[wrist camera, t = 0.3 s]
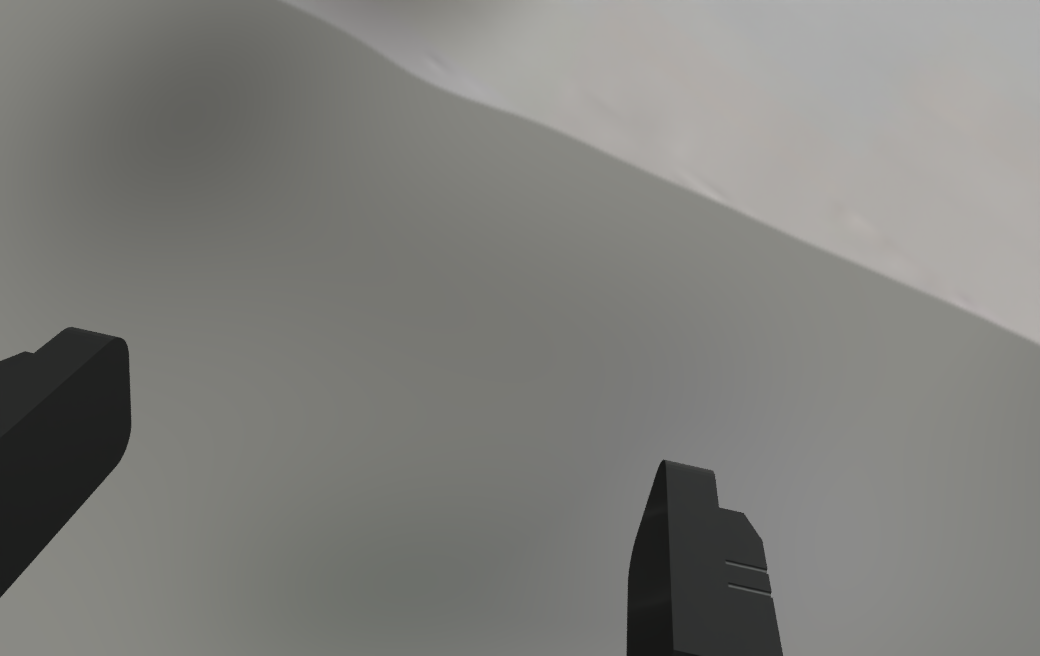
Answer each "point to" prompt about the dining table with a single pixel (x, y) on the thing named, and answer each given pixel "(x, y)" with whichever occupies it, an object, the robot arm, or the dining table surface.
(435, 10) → the dining table surface
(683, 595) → the robot arm
